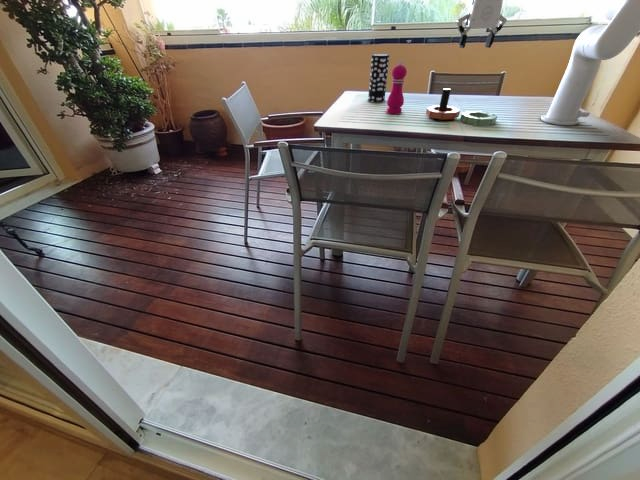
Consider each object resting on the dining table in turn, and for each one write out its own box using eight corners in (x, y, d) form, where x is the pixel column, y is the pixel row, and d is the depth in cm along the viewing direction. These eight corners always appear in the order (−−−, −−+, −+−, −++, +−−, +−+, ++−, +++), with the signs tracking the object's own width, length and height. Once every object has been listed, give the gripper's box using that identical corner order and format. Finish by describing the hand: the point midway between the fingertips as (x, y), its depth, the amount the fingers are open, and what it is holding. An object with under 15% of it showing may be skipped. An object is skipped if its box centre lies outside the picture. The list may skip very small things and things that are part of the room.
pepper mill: (382, 112, 133) (388, 61, 121) (391, 109, 137) (397, 59, 125) (396, 115, 129) (404, 62, 117) (405, 112, 133) (413, 60, 121)
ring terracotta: (451, 111, 130) (452, 105, 129) (462, 118, 121) (464, 112, 119) (423, 111, 130) (424, 105, 129) (432, 119, 120) (433, 113, 119)
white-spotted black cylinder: (372, 98, 157) (376, 53, 145) (387, 100, 153) (392, 54, 141) (365, 101, 152) (368, 55, 140) (379, 103, 148) (384, 56, 136)
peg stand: (446, 114, 129) (453, 86, 123) (453, 120, 123) (460, 90, 116) (428, 115, 129) (434, 87, 123) (434, 120, 123) (440, 91, 116)
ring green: (485, 116, 126) (487, 110, 125) (500, 125, 116) (502, 119, 115) (456, 117, 126) (458, 111, 125) (468, 125, 116) (470, 119, 115)
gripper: (469, -14, 97) (455, 48, 107) (521, -14, 97) (503, 48, 107) (460, -12, 103) (448, 47, 113) (510, -13, 103) (493, 46, 113)
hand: (474, 47), depth 110 cm, fingers open, 9 cm apart
